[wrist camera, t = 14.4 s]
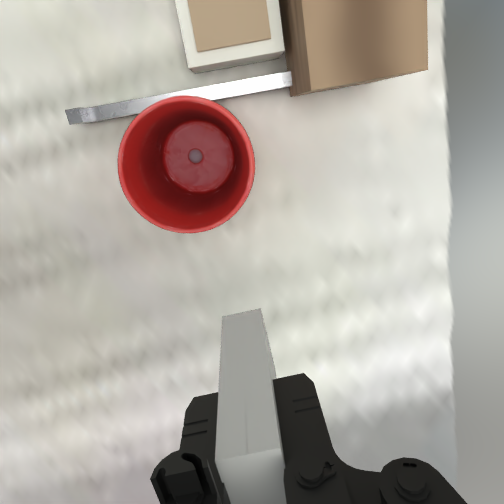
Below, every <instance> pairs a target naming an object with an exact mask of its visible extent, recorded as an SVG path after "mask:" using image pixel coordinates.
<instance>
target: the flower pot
mask: <svg viewBox="0 0 504 504" xmlns="http://www.w3.org/2000/svg"><path fill="white" fill-rule="evenodd" d="M118 174H119V180H120V184H121V187H122V190H123V192H124V194H125V196H126V198H127V200H128V201H129V203H130V204H131V205H132V207H133V208H134V209H135V210H136V211H137V212H138V213H139V214H140V215H141V216H142V217H144V218H145V219H146V220H148V221H149V222H151V223H152V224H154V225H156V226H158V227H160V228H162V229H165V230H169V231H173V232H178V233H198V232H204V231H207V230H211V229H213V228H215V227H217V226H220V225H221V224H223V223H225V222H226V221H228V220H229V219H230V218H231V217H232V216H233V215H235V214H236V213H237V211H238V210H239V209H240V208H241V207H242V205H243V204H244V202H245V201H246V199H247V197H248V195H249V193H250V190H251V187H252V184H253V180H254V174H255V159H254V152H253V148H252V145H251V142H250V139H249V137H248V135H247V133H246V131H245V129H244V128H243V126H242V125H241V123H240V122H239V121H238V119H237V118H236V117H235V116H234V115H233V114H232V113H231V112H229V111H228V110H227V109H226V108H224V107H223V106H221V105H219V104H218V103H216V102H214V101H211V100H209V99H206V98H202V97H198V96H190V95H183V96H174V97H169V98H166V99H163V100H160V101H158V102H156V103H154V104H152V105H150V106H149V107H147V108H146V109H144V110H143V111H142V112H141V113H140V114H138V115H137V116H136V118H135V119H134V120H133V121H132V122H131V124H130V125H129V127H128V128H127V130H126V132H125V134H124V136H123V138H122V141H121V144H120V148H119V153H118Z"/></svg>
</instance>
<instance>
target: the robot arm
mask: <svg viewBox="0 0 504 504" xmlns="http://www.w3.org/2000/svg"><path fill="white" fill-rule="evenodd" d="M150 480H151V482H152V485H153V487H154V489H155V492H156V494H157V497H158V499H159V501H160V504H467V503H466V502H465V501H464V499H463V498H462V497H461V496H460V495H459V494H458V493H457V492H456V491H455V489H454V488H453V487H452V486H451V485H450V484H449V483H448V482H447V481H446V479H445V478H444V477H443V476H442V475H441V474H440V473H439V472H438V471H437V470H436V469H435V468H433V467H432V466H431V465H430V464H428V463H426V462H423V461H421V460H418V459H415V458H400V459H396V460H392V461H391V462H389V463H388V464H387V465H385V466H384V467H383V469H382V471H381V472H373V471H364V470H359V469H355V468H353V467H351V466H349V465H347V464H346V463H344V462H343V461H341V460H340V458H339V457H338V456H337V455H336V453H335V451H334V449H333V447H332V443H331V440H330V436H329V433H328V430H327V426H326V423H325V420H324V416H323V413H322V409H321V406H320V403H319V399H318V396H317V393H316V389H315V386H314V382H312V381H311V380H310V379H309V378H308V377H307V376H306V375H305V374H304V373H302V374H297V375H292V376H287V377H283V378H278V379H277V378H276V372H275V366H274V362H273V358H272V353H271V349H270V345H269V341H268V337H267V332H266V328H265V324H264V320H263V315H262V311H261V309H256V310H251V311H247V312H242V313H237V314H233V315H228V316H224V317H222V334H221V353H220V373H219V392H217V393H212V394H207V395H203V396H198V397H194V398H193V400H192V401H191V403H190V405H189V406H188V408H187V409H186V412H185V419H184V427H183V431H182V438H181V444H180V450H178V451H175V452H173V453H171V454H170V455H168V456H167V457H165V458H164V459H162V460H161V462H160V463H159V464H158V465H157V466H156V468H155V469H154V471H153V473H152V476H151V478H150Z"/></svg>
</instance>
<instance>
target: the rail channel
mask: <svg viewBox="0 0 504 504" xmlns="http://www.w3.org/2000/svg"><path fill="white" fill-rule="evenodd" d="M290 86H292V77H291V71H288V72H283V73H277V74H272V75H266V76H261V77H255V78H249V79H244V80H238V81H233V82H227V83H222V84H216V85H211V86H205V87H200V88H194V89H189V90H183V91H178V92H172V93H167V94H161V95H156V96H150V97H145V98H139V99H134V100H128V101H122V102H117V103H111V104H106V105H100V106H95V107H89V108H75V109H69V110H65V112H66V115H67V118H68V121H69V125H71V124H84V123H92V122H97V121H103V120H109V119H114V118H120V117H125V116H131V115H136V114H140V113H141V112H142V111H143V110H144V109H146V108H147V107H149V106H150V105H152V104H154V103H156V102H158V101H160V100H163V99H166V98H169V97H174V96H183V95H190V96H198V97H202V98H206V99H209V100H211V101H214V100H220V99H225V98H231V97H237V96H242V95H248V94H253V93H259V92H264V91H270V90H275V89H281V88H287V87H290Z"/></svg>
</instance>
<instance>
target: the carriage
mask: <svg viewBox="0 0 504 504" xmlns="http://www.w3.org/2000/svg"><path fill="white" fill-rule="evenodd" d="M175 3H176V8H177V13H178V18H179V23H180V28H181V33H182V38H183V43H184V48H185V53H186V58H187V63H188V67H189V69H190V70H191V71H193V72H194V73H195V74H196V73H202V72H207V71H213V70H218V69H224V68H229V67H235V66H240V65H246V64H251V63H257V62H262V61H268V60H273V59H279V58H280V56H281V55H282V54H283V52H284V51H285V49H284V41H283V34H282V26H281V18H280V10H279V2H278V0H175Z"/></svg>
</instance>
